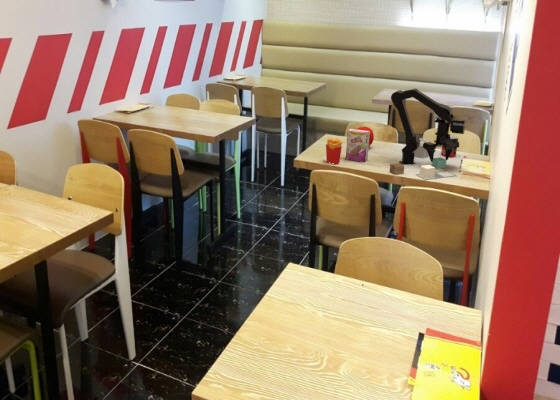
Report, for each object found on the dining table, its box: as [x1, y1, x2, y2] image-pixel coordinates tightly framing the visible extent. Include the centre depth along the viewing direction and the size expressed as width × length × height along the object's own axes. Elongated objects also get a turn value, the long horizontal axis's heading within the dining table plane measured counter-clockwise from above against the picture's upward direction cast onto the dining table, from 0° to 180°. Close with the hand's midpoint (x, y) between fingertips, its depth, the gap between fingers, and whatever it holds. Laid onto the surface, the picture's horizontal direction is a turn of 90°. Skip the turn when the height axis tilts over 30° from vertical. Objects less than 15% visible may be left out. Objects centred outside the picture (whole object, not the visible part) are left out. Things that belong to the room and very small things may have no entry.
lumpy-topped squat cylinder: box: [414, 137, 431, 159], centre depth 300 cm, size 10×13×9 cm
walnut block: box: [389, 162, 405, 176], centre depth 269 cm, size 5×5×5 cm
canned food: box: [440, 134, 459, 158], centre depth 298 cm, size 8×8×11 cm
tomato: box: [356, 126, 375, 147], centre depth 310 cm, size 11×11×13 cm
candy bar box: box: [345, 128, 370, 163], centre depth 287 cm, size 11×5×16 cm, turn 65°
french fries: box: [325, 137, 343, 165], centre depth 283 cm, size 9×4×13 cm, turn 51°
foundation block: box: [419, 164, 436, 179], centre depth 263 cm, size 5×5×5 cm
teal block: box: [431, 156, 448, 170], centre depth 278 cm, size 5×5×5 cm
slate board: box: [415, 170, 457, 181], centre depth 266 cm, size 9×19×1 cm, turn 111°
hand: (439, 160), depth 278 cm, fingers open, 9 cm apart
